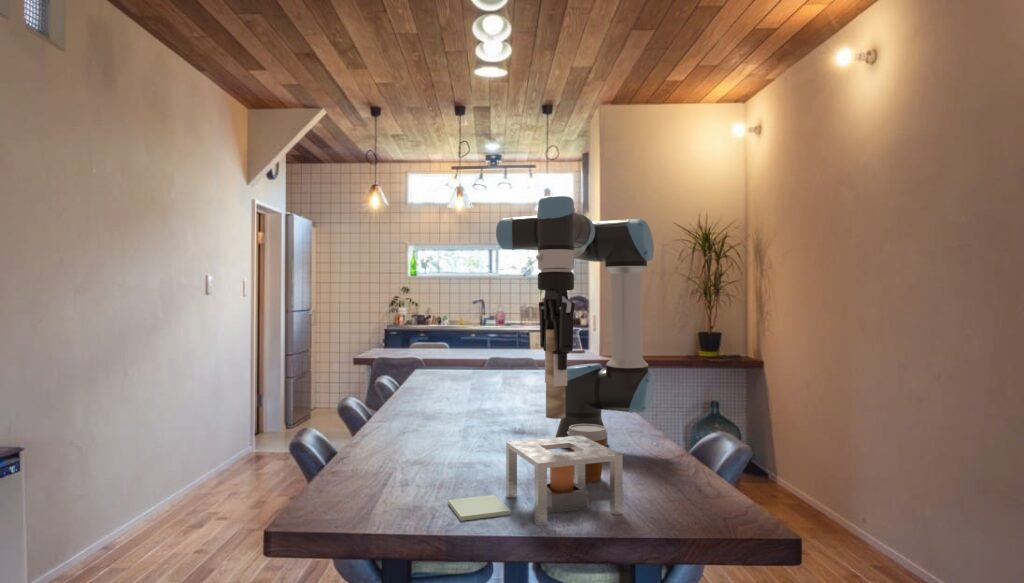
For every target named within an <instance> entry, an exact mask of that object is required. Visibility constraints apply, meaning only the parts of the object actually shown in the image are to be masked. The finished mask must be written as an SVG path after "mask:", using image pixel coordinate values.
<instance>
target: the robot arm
mask: <svg viewBox="0 0 1024 583" xmlns="http://www.w3.org/2000/svg"><path fill="white" fill-rule="evenodd" d="M574 202H575V201H574V199H573V198H572V197H570V196H567V195H549V196H543V197H541V198H540V199H539V201H538V204H537V215H529V216H511V217H504V218H501V219H500V220H499V221H498V222H497V225H496V230H495V234H496V235H495V237H496V242H497V244H498V246H499V247H500V248H502V249H503V250H512V251H515V250H527V251H530V250H531V251H537V255H536V256H535V257H536V258H535V259H536V260H537V269H538V270H539V271H540V272H538V274H537V289H538V290H539V291H544V298H543V301H539V302H538V310H539V333H540V334H539V340H540V341H539V342H540V343H539V344H540V349H541V348H542V349H543V352H544V384H546V330H548V329H554V336H555V349H556V351H552V353H553V354H554V386H565V418H561V419H559V420H560V421H559V423H558V427H557V429H556V432H555V438H557V437H568V434H567V432H568V430H569V427H570V426H571V425H576V424H595V425H600V426H604V427H605V425H604V422H603V418H602V411H603V410H604V411H611V412H612V411H614V412H623V413H630V414H633V413H636V414H639V413H640V414H641V413H646V412H647V411H648V410H649V409H650V407H651V405H652V402H653V399H654V394H655V388H656V378H655V377H656V375H655V373H654V372H653V371H652V370H649V364H648V363H647V361H645V359H644V357H643V288H642V285H643V281H642V279H643V277H642V276H643V275H642V274H643V272H644V271H645V270H646V269H647V268H648V262H650V261H652V260H653V258H654V252H655V249H654V247H655V246H654V239H653V235H652V232H651V229H650V226H649V224H648V223H647V221H645V220H644V219H642V218H641V219H640V218H625V219H613V220H610V219H609V220H600V221H599V220H598V221H597V220H595V221H592V220H591V219H590V218H589V217H587V216H586V215H584V214H582V213H577V212H576V208H575V203H574ZM575 259H576V260H581V261H585V262H587V261H588V262H595V263H597V262H599V263H601V262H603V263H604V268H605V269H606V270H607V272H609V273H610V307H611V308H610V316H611V317H610V318H611V320H610V322H611V323H610V324H611V325H610V327H611V328H610V330H611V332H610V333H611V334H610V336H611V337H610V338H611V358H610V360H609V361H607V362H606V368H603V366H602V364H601V363H598V362H596V363H586V364H585V363H584V364H575V365H570V366H568V354H569V352H572V351H573V350H574V349H573V348H574V345H573V344H574V312H575V306H576V305H575V304H576V303H575V302H574V301H570V300H569V296H568V291H573V290H574V289H575V273H574V272H573V270H574V269H575ZM607 446H608V436H607V437H606V440H605V447H607ZM568 449H570V448H568ZM570 450H571V449H570Z"/></svg>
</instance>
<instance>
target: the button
mask: <svg viewBox="0 0 1024 583" xmlns="http://www.w3.org/2000/svg"><path fill="white" fill-rule="evenodd" d="M549 471H550V473H549V478H550V479H549V480H550V481H549V482H550V489H551V490H552V491H553V492H556V493H557V492H565V491H573V490H574V465H570V466H560V467H550V468H549Z"/></svg>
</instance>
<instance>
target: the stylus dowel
mask: <svg viewBox="0 0 1024 583" xmlns="http://www.w3.org/2000/svg"><path fill="white" fill-rule="evenodd" d="M552 351H556V349H555V336H554V329H548V330H546V351H545V352H546V383H545V418H548V419H553V420H554V419H555V420H561V418H565V386H554V354H553V353H552Z"/></svg>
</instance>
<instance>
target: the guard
mask: <svg viewBox="0 0 1024 583" xmlns="http://www.w3.org/2000/svg"><path fill="white" fill-rule="evenodd" d="M505 444H506V445H505V452H506V453H505V454H506V455H505V456H506V457H505V458H506V460H505V463H506V464H505V475H506V476H505V480H506V481H505V486H506V487H505V488H506V489H505V493H506V494H505V496H506V497H507V498H508V499H512V498H517V497H518V456H519V457H521V458H522V459H523V460H525V461H527V463H529V464H531V465H532V466H534V523H535V524H536V525H537V526H541V525H542V526H543V525H547V524H548V511H549V512H550V513H551V514H555V513H562V512H570V511H577V510H579V511H580V510H586V509H589V490H588V489H586V482H585V464H589V463H599V462H603V463H607V462H609V512H610V513H611V514H612V515H616V516H617V515H623V513H624V512H623V511H624V507H623V506H624V505H623V504H624V501H623V496H624V493H623V491H624V486H623V485H624V484H623V479H624V478H623V477H624V476H623V475H624V472H623V471H624V469H623V468H624V467H623V465H624V464H623V463H624V462H623V461H624V460H623V457H624V455H623V454H621V453H619V452H618V451H616V450H613V449H612V448H609V447H607V446H606V447H605V446H603V445H601V444H598V443H596V442H594V441H592V440H590V439H588V438H586V437H584V436H582V435H581V436H569V437H557V438H556V437H547V438H535V439H526V440H525V439H524V440H513V441H506V443H505ZM569 448H572V449H573V450H574V452H571V451H568V452H566V451H565V452H556V453H553V452H551V451H550V450H558V449H569ZM570 465H574V490H573V491H565V492H557V493H556V492H553V491H552V490H551V489H550V481H548V468H549V469H550V467H560V466H570Z"/></svg>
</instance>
